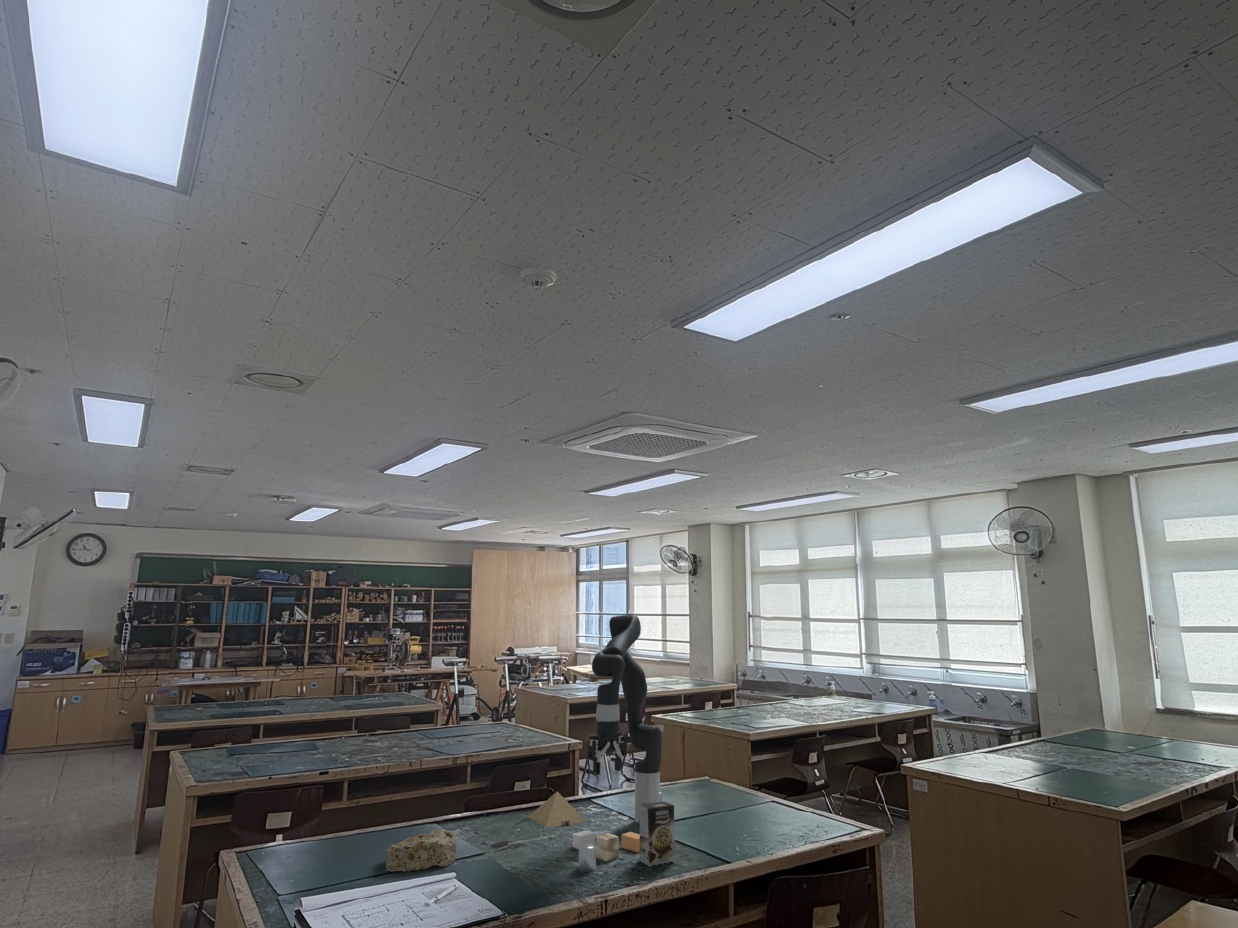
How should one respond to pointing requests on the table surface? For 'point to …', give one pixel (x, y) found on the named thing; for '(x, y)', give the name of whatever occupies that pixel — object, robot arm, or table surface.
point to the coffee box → (656, 833)
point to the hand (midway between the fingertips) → (607, 772)
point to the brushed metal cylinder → (587, 857)
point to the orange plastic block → (631, 841)
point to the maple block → (607, 846)
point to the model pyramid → (556, 812)
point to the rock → (422, 851)
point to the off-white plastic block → (583, 838)
